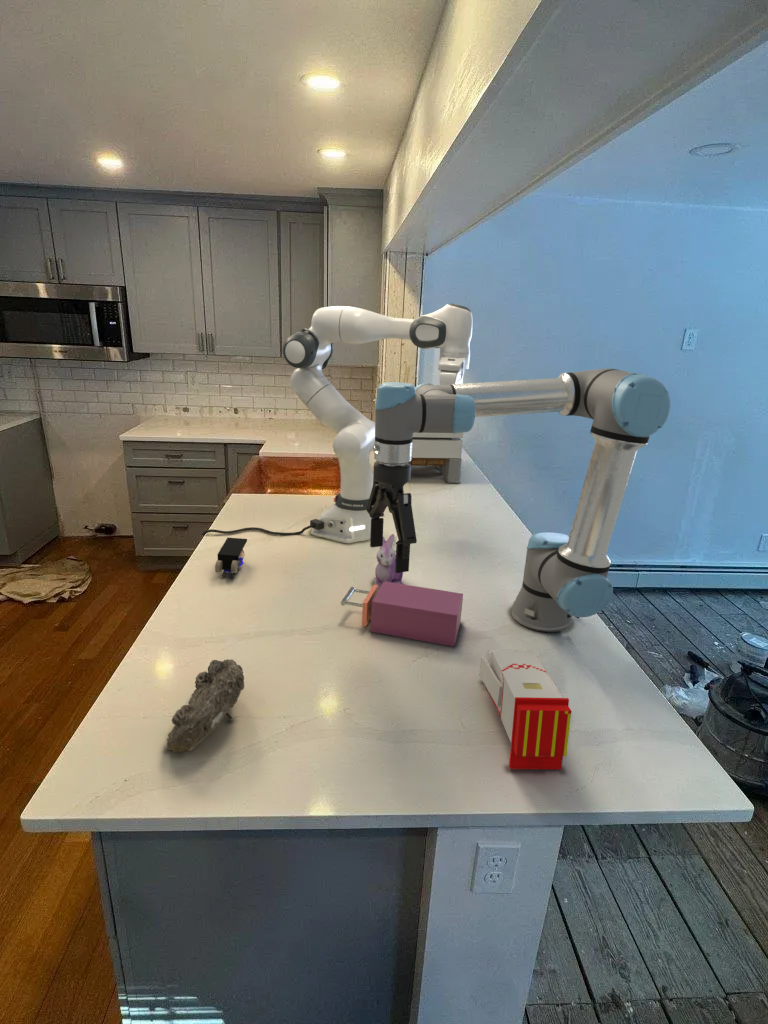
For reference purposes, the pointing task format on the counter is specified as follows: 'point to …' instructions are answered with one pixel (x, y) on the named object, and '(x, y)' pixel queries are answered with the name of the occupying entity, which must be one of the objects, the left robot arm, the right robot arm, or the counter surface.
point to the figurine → (387, 564)
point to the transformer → (439, 453)
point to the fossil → (206, 705)
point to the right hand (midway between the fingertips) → (388, 558)
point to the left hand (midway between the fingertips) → (450, 409)
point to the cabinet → (417, 613)
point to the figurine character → (230, 556)
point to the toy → (528, 708)
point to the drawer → (366, 603)
